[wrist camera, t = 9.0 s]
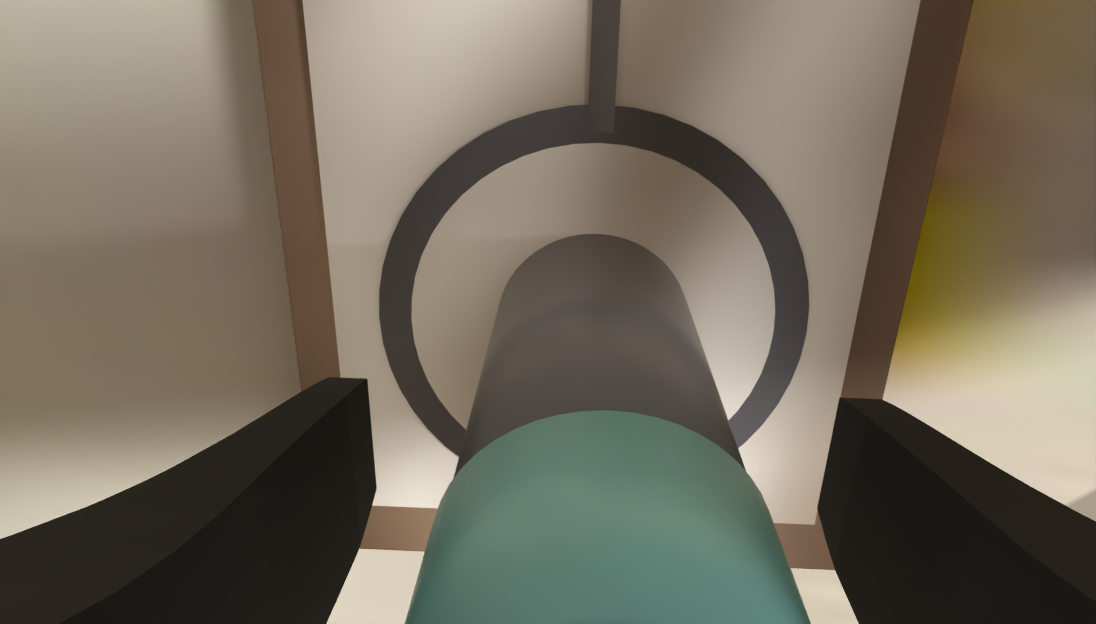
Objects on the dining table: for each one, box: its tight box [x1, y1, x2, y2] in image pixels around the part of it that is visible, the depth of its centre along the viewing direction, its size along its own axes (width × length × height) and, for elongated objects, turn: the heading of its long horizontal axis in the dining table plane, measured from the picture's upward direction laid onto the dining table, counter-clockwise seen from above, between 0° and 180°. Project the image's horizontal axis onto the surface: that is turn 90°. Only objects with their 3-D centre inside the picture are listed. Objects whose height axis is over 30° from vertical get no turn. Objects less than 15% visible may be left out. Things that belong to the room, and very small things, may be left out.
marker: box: [405, 234, 811, 624], centre depth 11 cm, size 4×4×10 cm
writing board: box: [253, 0, 973, 570], centre depth 15 cm, size 13×20×2 cm, turn 179°
